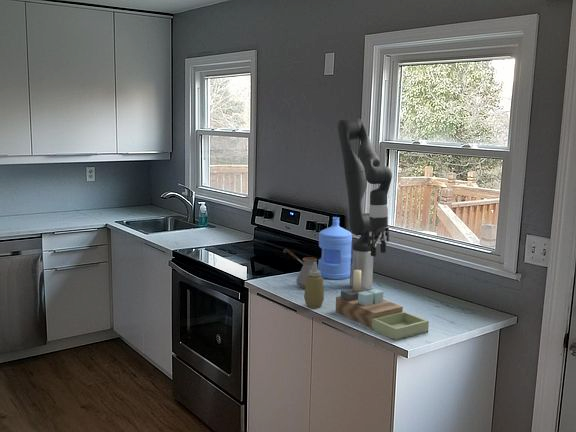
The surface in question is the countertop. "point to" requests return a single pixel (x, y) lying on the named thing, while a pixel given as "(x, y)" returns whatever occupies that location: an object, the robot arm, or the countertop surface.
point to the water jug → (335, 252)
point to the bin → (400, 325)
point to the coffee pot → (303, 269)
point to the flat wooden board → (365, 310)
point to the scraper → (354, 288)
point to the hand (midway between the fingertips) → (378, 254)
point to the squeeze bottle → (314, 288)
